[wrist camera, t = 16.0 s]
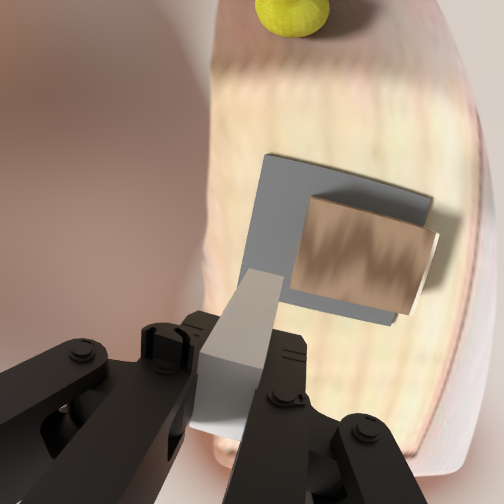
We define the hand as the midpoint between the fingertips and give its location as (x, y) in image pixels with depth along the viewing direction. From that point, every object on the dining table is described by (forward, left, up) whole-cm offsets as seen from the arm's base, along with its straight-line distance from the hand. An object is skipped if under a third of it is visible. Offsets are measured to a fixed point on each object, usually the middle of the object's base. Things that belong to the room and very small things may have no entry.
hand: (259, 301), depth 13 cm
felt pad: (0, +5, -19) cm, 19 cm away
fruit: (-22, -3, -19) cm, 29 cm away
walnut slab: (0, +2, -16) cm, 16 cm away
